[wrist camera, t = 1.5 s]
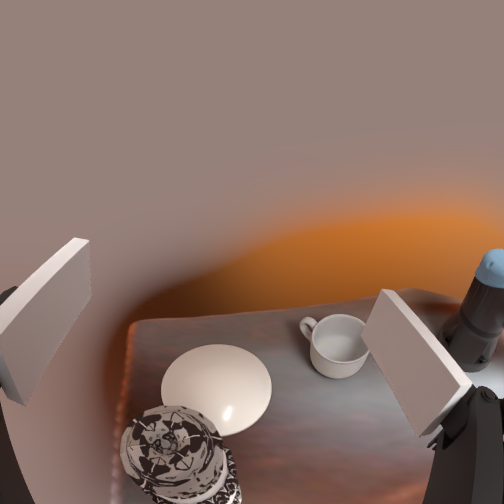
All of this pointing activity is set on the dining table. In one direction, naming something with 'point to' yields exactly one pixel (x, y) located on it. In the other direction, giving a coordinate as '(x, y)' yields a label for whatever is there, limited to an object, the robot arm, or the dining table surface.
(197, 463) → the decorative candle
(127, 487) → the dining table surface
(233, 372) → the candle plate
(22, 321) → the robot arm
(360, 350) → the teacup
